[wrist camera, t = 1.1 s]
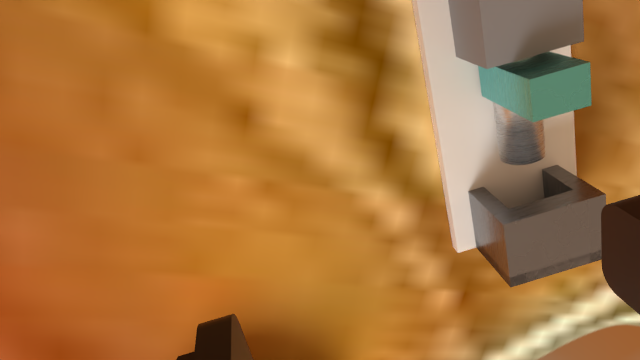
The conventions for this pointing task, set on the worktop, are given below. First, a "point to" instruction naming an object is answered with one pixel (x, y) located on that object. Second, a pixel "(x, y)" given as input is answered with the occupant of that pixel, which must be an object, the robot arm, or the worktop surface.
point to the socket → (540, 228)
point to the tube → (533, 100)
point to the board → (477, 111)
